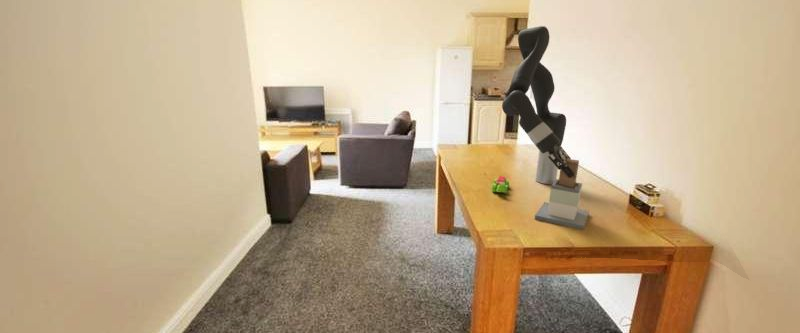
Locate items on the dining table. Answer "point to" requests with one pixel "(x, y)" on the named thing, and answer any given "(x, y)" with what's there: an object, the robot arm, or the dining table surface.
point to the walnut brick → (564, 178)
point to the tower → (563, 207)
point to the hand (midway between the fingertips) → (573, 174)
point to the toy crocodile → (500, 184)
